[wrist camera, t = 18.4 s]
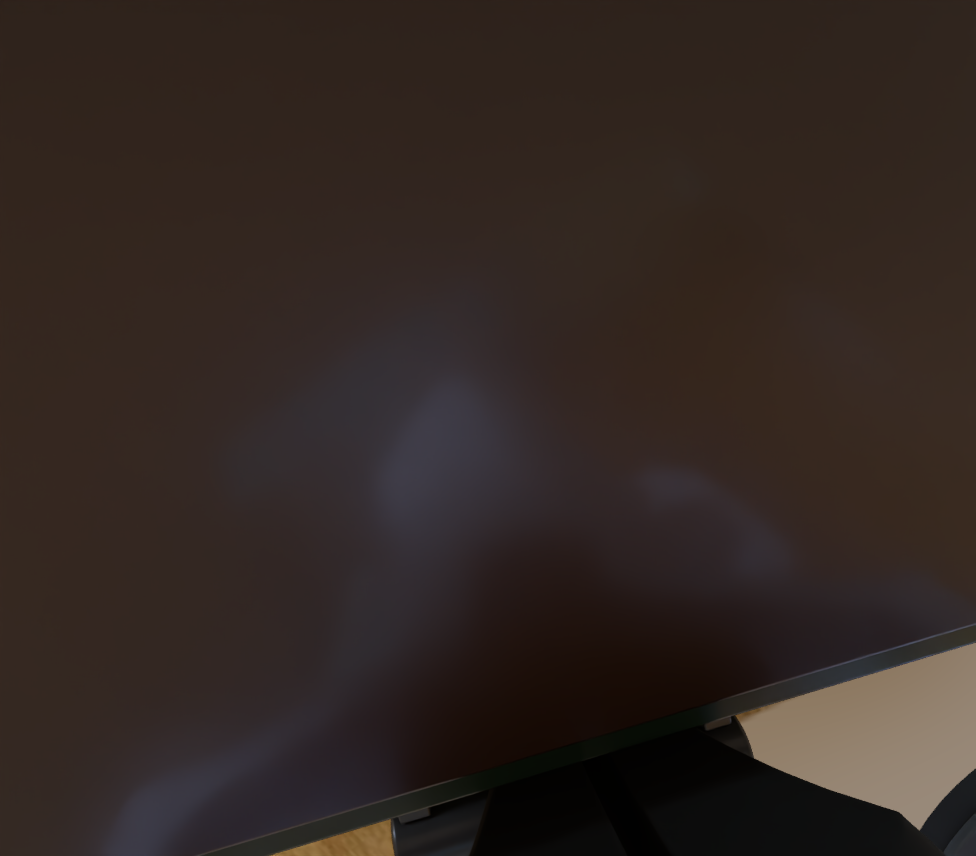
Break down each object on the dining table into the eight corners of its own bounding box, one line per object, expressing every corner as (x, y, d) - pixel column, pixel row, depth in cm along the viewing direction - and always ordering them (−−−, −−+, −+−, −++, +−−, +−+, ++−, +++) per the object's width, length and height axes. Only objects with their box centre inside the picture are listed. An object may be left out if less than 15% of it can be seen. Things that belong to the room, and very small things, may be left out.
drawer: (744, 640, 16) (990, 897, 9) (313, 763, 15) (257, 1156, 8) (673, -236, 11) (1124, -1012, 4) (-11, -154, 9) (-870, -1062, 3)
